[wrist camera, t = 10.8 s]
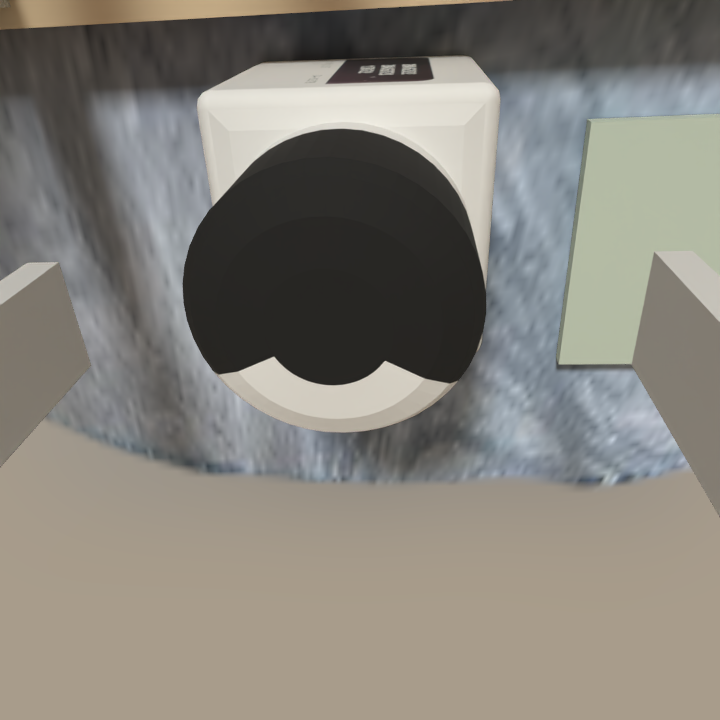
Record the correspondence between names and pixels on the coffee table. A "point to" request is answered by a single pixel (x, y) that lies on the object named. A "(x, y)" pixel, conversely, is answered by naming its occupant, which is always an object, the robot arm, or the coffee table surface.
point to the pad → (635, 224)
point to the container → (344, 235)
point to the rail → (175, 9)
